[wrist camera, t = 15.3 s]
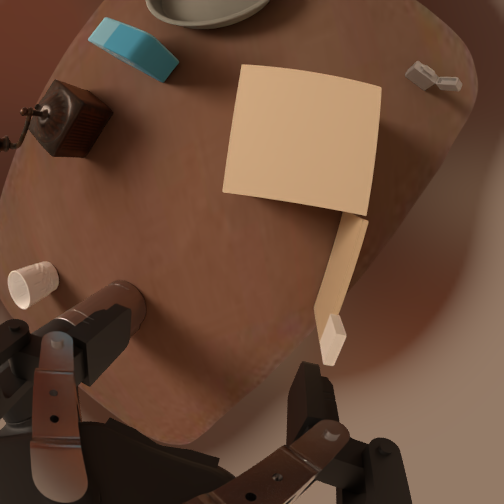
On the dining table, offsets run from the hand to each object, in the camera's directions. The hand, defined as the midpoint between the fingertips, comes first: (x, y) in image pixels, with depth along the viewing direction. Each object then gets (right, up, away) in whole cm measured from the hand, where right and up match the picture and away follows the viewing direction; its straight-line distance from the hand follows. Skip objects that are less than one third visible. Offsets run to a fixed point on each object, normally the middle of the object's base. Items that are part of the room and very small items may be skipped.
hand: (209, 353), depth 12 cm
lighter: (+30, +32, +23) cm, 49 cm away
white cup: (-42, -1, +40) cm, 58 cm away
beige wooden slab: (+14, +3, +31) cm, 34 cm away
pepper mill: (-31, +27, +32) cm, 52 cm away
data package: (-16, +37, +28) cm, 49 cm away
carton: (+9, +20, +28) cm, 36 cm away
